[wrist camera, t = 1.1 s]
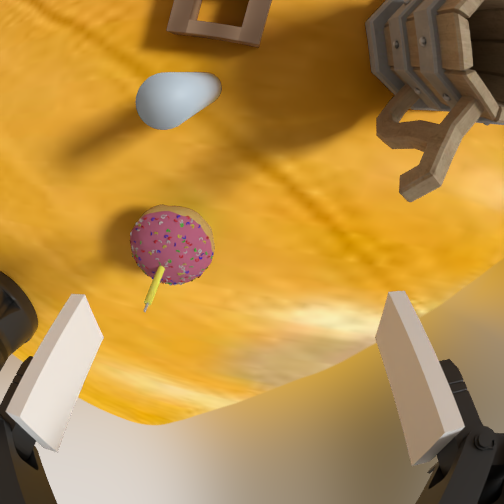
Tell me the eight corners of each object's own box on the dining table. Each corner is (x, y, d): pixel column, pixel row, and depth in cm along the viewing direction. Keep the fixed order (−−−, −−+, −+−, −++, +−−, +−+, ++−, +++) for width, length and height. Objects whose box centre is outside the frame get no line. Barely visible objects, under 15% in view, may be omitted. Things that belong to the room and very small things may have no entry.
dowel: (185, 101, 28) (132, 125, 16) (191, 69, 26) (140, 69, 14) (217, 107, 28) (187, 134, 16) (224, 75, 26) (198, 76, 14)
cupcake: (202, 268, 38) (184, 344, 27) (136, 241, 36) (96, 309, 26) (230, 207, 33) (218, 274, 23) (156, 177, 32) (111, 231, 22)
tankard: (410, -26, 19) (499, -61, 6) (486, 60, 23) (585, 79, 10) (294, 101, 28) (328, 127, 15) (385, 179, 31) (456, 255, 19)
